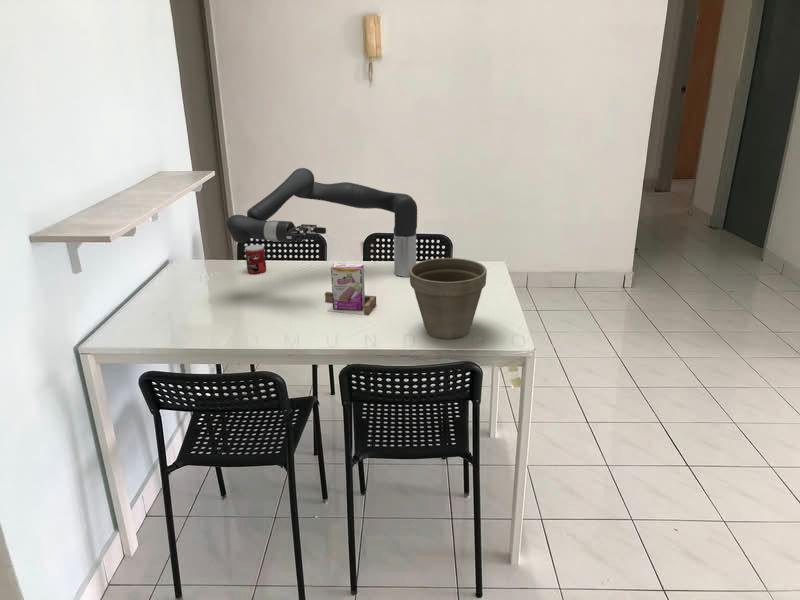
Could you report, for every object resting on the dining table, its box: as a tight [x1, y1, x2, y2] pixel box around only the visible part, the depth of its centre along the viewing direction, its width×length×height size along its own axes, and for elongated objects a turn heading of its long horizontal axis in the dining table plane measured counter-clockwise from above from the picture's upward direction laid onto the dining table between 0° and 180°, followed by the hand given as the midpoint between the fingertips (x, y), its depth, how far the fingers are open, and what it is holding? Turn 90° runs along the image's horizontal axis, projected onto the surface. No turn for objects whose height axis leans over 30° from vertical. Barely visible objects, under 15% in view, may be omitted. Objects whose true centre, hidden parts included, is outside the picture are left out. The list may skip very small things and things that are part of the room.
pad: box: [327, 304, 364, 315], centre depth 219 cm, size 8×14×1 cm, turn 75°
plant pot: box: [409, 257, 488, 340], centre depth 197 cm, size 25×25×22 cm
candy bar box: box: [330, 262, 366, 311], centre depth 216 cm, size 11×5×16 cm, turn 83°
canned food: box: [244, 244, 267, 275], centre depth 258 cm, size 8×8×11 cm
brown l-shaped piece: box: [324, 291, 377, 316], centre depth 220 cm, size 10×20×4 cm, turn 75°
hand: (321, 233), depth 214 cm, fingers open, 8 cm apart
